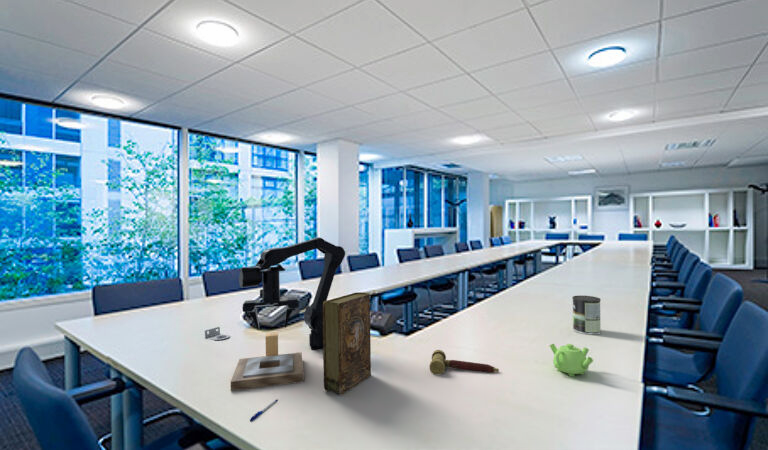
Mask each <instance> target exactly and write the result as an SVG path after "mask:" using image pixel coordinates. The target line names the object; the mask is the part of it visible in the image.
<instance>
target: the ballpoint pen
mask: <svg viewBox="0 0 768 450" xmlns="http://www.w3.org/2000/svg"><path fill="white" fill-rule="evenodd" d="M277 402H278V399H277V398H276V399H275V400H273V401H271V402H270V403H269V404H268V405H267V406H265V407H264V408H263V409H261V410H260V411H257V412H256V413H255V414H253V415H252V416H251V417H250V419H249V422H253V421H254V420H256V419H257V418H258V417H260V416H261V415H262V414H263V413H264V412H266V411H267V410H269V408H271V407H272V406H273V405H274V404H276V403H277Z"/></svg>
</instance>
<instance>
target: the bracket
mask: <svg viewBox="0 0 768 450" xmlns="http://www.w3.org/2000/svg"><path fill="white" fill-rule="evenodd" d="M220 329H221V328H220V326H217V327H214V328H209V329H205V330H204V338H205V339H209V340H211V341H212V340H213V341H222V340H226V339H229V338H230V337H231V335H228V334H221V330H220Z"/></svg>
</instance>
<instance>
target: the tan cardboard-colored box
mask: <svg viewBox="0 0 768 450" xmlns="http://www.w3.org/2000/svg"><path fill="white" fill-rule="evenodd" d="M272 355H279V332H277V331H276V332H275V331H274V332H267V333H265V356H272Z"/></svg>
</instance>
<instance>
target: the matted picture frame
mask: <svg viewBox="0 0 768 450" xmlns="http://www.w3.org/2000/svg"><path fill="white" fill-rule="evenodd" d="M302 353H303V352H293V353H284V354H278V355H272V356H266V355H264V356H254V357H244V358H239V359H238V362H237V365H236V367H235V369H234V371H233V375H232V377H231V380H230V392H231V391H238V390H249V389H254V388H255V389H256V388H262V387H273V386H280V385H285V384H296V383H303V382H305V379H304V364H303V355H302ZM295 382H296V383H295Z"/></svg>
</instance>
